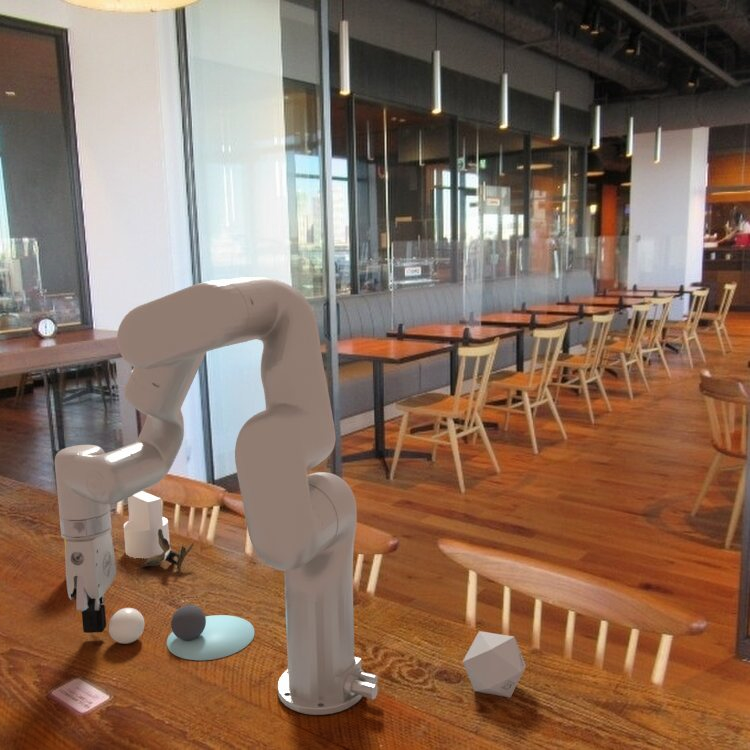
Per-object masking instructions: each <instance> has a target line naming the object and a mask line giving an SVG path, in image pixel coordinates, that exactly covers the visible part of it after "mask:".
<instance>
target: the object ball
mask: <svg viewBox="0 0 750 750" xmlns="http://www.w3.org/2000/svg"><path fill="white" fill-rule="evenodd" d="M205 617H206V615H205V613H204V611H203V610H202V609H201V607H199V606H197V605H194V604H186V605H182V606H181V607H179V608H177V610H175V612H174V613H173V615H172V617H171V622H170V627H171V631H173V633H174V634H175V636H176V637H178V638H179V639H182V640H193V639H195V638H197V637H198V636H199V635H200V634H201V633H202V632H203V630H204V628H205V625H206V618H205Z"/></svg>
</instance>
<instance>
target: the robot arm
mask: <svg viewBox="0 0 750 750" xmlns="http://www.w3.org/2000/svg"><path fill="white" fill-rule="evenodd" d="M319 331H320V330H319V326H318V323H317V319H316V315H315V313H314V309H313V308H312V306H311V305H310V303H309V301H308V300H307V298H306V297H305V296H304V295H303V294H302V292H300V291H298V289H296V288H295V287H293V286H292V285H290V284H289V283H285V282H284V281H281V280H277V279H273V278H270V277H269V278H268V277H262V276H261V277H260V276H259V277H257V276H256V277H255V276H251V277H250V276H249V277H248V276H247V277H237V278H228V279H214V280H208V281H204V282H200V283H196V284H192V285H191V286H187V287H184V288H183V289H180V290H177V291H175V292H172V293H170V294H169V293H168V294H167V295H165V296H162V297H158V298H157V299H154V300H151V301H148V302H146V303H144V304H141V305H139V306H136V307H135V308H133V309H131V310H130V311H129V312H128V313H127V314H126V315H125V316H124V317H123V318H122V320H121V322H120V324H119V326H118V329H117V335H116V342H117V348H118V351H119V353H120V355H121V357H122V359H123V360H124V361H125V362H126V363H127V364H129V365H130V366H131V367H133V368H132V370H131V372H130V374H129V377H128V379H127V381H126V384H125V386H124V397H125V398H126V400H127V402H128V404H130V405H131V406H132V407H133V408H134V409H135V410H137V411H138V412H140V413H142V414H143V415H145V416H146V418H145V422H144V423H143V427H142V428H141V431H140V433H139V434H138V437H137V439H136V441H135V442H134V443H130V444H127V445H125V446H122V447H119V448H117V449H114V450H111V451H109V452H105V450H104V449H103V448H102V447H100V446H99V445H94V444H77V445H72V446H68V447H65V448H62V449H60V450H59V451H58V452H57V453H56V454H55V457H54V470H55V480H56V491H57V503H58V515H59V525H60V536H61V537H62V539H63V540H64V539H66V547H65V546H64V553H65V559H64V560H65V577H66V578H65V579H66V589H67V595H68V598H69V599H70V600H71V601H74V600H75V601H76V605H75V606H76V611H80V612H81V618H82V619H81V620H82V629H83V633H103V632H104V630H105V629H106V628H107V618H106V606H105V601H106V594H105V593H106V592H107V590H108V589H109V588H110V587H111V584H112V583H113V581H114V580H115V578H116V576H117V563H116V554H115V549H114V542H113V541H114V540H113V537H112V535H113V534H112V531H111V530H112V528H113V527H112V519H111V518H112V516H111V506H110V505H113V504H117V503H120V502H123V500H126V499H128V498H129V497H131V496H133V495H134V494H136V493H138V492H141V491H145V490H147V489H150V488H151V487H154V486H155V485H157V484H159V483H160V482H161V481H163V479H164V478H165V477H166V476H167V475H168V473H169V472H170V470H171V468H172V466H173V465H174V462H175V461H176V458H177V456H178V454H179V452H180V450H181V446H182V444H183V442H184V441H183V440H184V436H185V425H184V424H185V423H184V416H183V413H182V410H181V409H182V406H183V404H184V401H185V400H186V397H187V395H188V392H189V391H190V388H191V386H192V384H193V382H194V379H195V377H196V375H197V373H198V371H199V369H200V367H201V364H202V363H203V361H204V357H205V356H206V353H207V352H210V351H213V350H216V349H220V348H223V347H230V346H232V345H237V344H240V343H246V342H249V341H253V340H258V341H261V342H262V346H263V349H262V354H261V360H260V377H261V378H260V379H261V384H262V389H263V394H264V401H265V409H264V410H263V411H260V412H258V413H256V414H254V415H253V416H251V417H250V418H249V419H247V420H246V422H245V423H244V424H243V425H242V426H241V428H240V430H239V432H238V436H237V438H236V441H235V446H234V447H235V449H234V460H235V461H234V462H235V467H236V468H235V470H236V476H237V480H238V484H239V485H238V487H239V491H240V495H241V502H242V506H243V511H244V517H245V522H246V527H247V532H248V536H249V539H250V542H251V545H252V547H253V550H254V551H255V553H256V555H257V556H258V557H259V558H260V560H262V562H264V564H266V565H267V566H269V567H271V568H272V569H275V570H277V571H282V572H284V602H285V603H284V604H285V627H286V628H285V629H286V630H285V631H286V653H287V654H286V655H287V669H286V670H285V671H284V672H283V673H282V674H281V676H280V677H279V679H278V682H277V694H278V695H277V696H278V698H279V700H280V702H282V704H283V705H284V706H285V707H287V708H289V709H290V710H291V711H292V710H293V711H295V712H297V713H301V714H305V715H313V716H323V715H324V716H325V715H331V714H332V715H333V714H335V713H339V712H342V711H345V710H347V709H350V708H351V707H353V706H354V705H356V704H357V703H358V702H359V701H360V700H361V699H362V698H363V697H364V698H367V699H370V700H375V699H376V698H377V696H378V692H379V686H378V685H377V683H378V679H379V677H378V674H373V673H371V672H365V671H364V669H363V668H362V658H361V657H356V656H355V626H354V624H355V623H354V622H355V621H354V620H355V619H354V618H355V617H354V568H353V567H354V564H353V563H354V547H355V546H354V545H355V538H356V536H355V535H356V529H357V518H358V512H357V511H358V510H357V509H358V508H357V501H356V497H355V494H354V492H353V490H352V489H351V487H350V485H349V484H348V483H347V482H346V481H345V480H344V479H343V478H341V477H340V476H339V475H337V474H334V473H331V472H325V471H323V472H322V471H320V472H317V471H316V472H314V473H310V474H308V471H310V470H312V469H313V468H315V467H316V466H318V465H319V464H321V463H322V462H323V461H325V460H326V459H327V458H329V456H330V455H331V454H332V452H333V451H334V448H335V445H336V439H337V438H336V429H335V423H334V417H333V412H332V406H331V405H332V404H331V400H330V395H329V386H328V382H327V376H326V372H325V367H324V361H323V356H322V347H321V340H320V332H319Z"/></svg>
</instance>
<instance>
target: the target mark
mask: <svg viewBox="0 0 750 750" xmlns="http://www.w3.org/2000/svg"><path fill="white" fill-rule="evenodd" d="M205 618H206V625H205V628H204V630H203V632H202V633H201V634H200V635H199V636H198V637H197V638H195V639H193V640H182V639H179V638H178V637H176V636H175V634H174V633H173V631H172V630H171V631H172V632H171V633H169V635H168V637H167V639H166V647H167V649H168V651H169V652H170V653H171V654H172V655H174V656H176V657H178V658H181V659H184V660H189V661H211V660H212V661H213V660H218V659H222V658H225V657H229V656H232V655H234V654H236V653H238V652H240V651H242V650H244V649H245V648H246V647H247V646H249V645H250V643H252V641H253V640H254V638H255V634H256V633H255V628H254V626H253V624H252V623H251V622H250V621H248V620H246V619H244V618H242V617H239V616H235V615H228V614H226V615H225V614H215V615H208V616H206V615H205Z"/></svg>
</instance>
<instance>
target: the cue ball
mask: <svg viewBox="0 0 750 750" xmlns="http://www.w3.org/2000/svg"><path fill="white" fill-rule="evenodd" d="M144 630H145V618H144V616H143V615H142V613H141V612H140V610H138V609H136V608H133V607H124V608H120V609H119V610H117V611H116V612H115V613H114V614H113V615H112V616H111V618H110V620H109V623H108V632H109V635H110V637H111V638H112V639H113V640H114V642H117V643H118V644H124V645H125V644H131V643H134V642H135V641H137V640H138V639H139V638H140V637H141V635H142V634H143V632H144Z"/></svg>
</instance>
